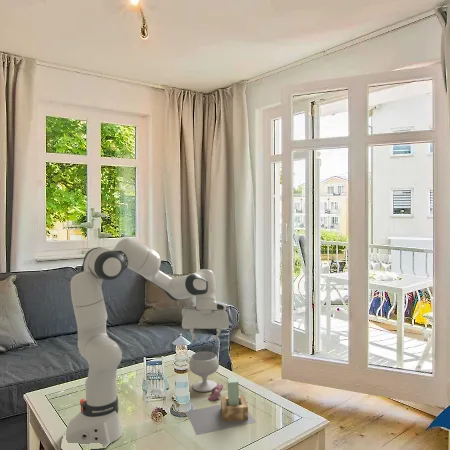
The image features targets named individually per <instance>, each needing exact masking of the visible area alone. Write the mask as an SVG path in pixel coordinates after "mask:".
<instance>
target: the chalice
mask: <svg viewBox="0 0 450 450" xmlns="http://www.w3.org/2000/svg"><path fill="white" fill-rule="evenodd" d="M219 365H220V362H219V358H218V356H217V354H216V353H215V352H212V351H198V352H195V353H193V354H192V355H191V357H190V360H189V364H188V366H189V370H190V371H191V373H193V374H194V375H195V376H196V375H197V376H199V377H201V379H202V380H198V381H195V382H194V383H193V384H192V386H191V388H192V389H193V391H196V392H200V393H207V392H211V391H212V389H213V388H214V387H216V386H217V385H218V382H216V381H214V380H210V379H208V377H209V376H210V375H212V374H214V373H216V372H217V371H218V369H219V367H220V366H219Z"/></svg>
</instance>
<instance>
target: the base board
mask: <svg viewBox="0 0 450 450" xmlns="http://www.w3.org/2000/svg"><path fill="white" fill-rule="evenodd" d="M189 411H190V412H188V413H187V412H186V414H187V417H188V419H189V422H190V424H191V426H192V427H193V431H194V432H195V434H196V436H197V435H202V434H207V433H212V432H217V431H221V430H226V429H231V428H234V427H235V428H236V427H240V426H244V425H248V424H254V423H257V421H256V420H255V418H254V417H253V415H252V414H251V413H250V411H248V419H245V420H233V421H223V418H222V411H221V404H219V405H212V406H207V407H201V408H198V409H197V408H196V409H191V410H189Z"/></svg>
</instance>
